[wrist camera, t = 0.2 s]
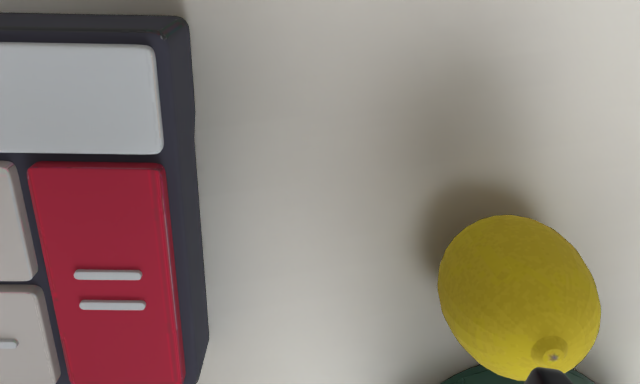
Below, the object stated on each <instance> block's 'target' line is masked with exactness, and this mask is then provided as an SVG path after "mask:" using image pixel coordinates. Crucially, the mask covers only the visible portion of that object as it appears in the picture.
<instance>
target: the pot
mask: <svg viewBox="0 0 640 384" xmlns="http://www.w3.org/2000/svg"><path fill="white" fill-rule="evenodd" d="M564 374H565V375H566V376H567V377H568V378H569V379H570V380H571V381H572V382H573V384H595V383H594V382H593V381H591V380H590V379H588V378H587V377H586V376H584V375H583V374H581V373H579V372H577V371H575V370H573V369H571V370H569V371H567V372H566V373H564ZM524 383H525V381H517V380H514V379H510V378H506V377H503V376H500V375H498V374H496V373H494V372H492V371H491V370H489V369H487V368H485V367H484V366H482V365H479V366H476V367H473V368H470V369H468V370H465V371H463V372H461V373H459V374H457V375H454V376H453V377H451V378H449V379H448V380H446V381H444V382H443V383H441V384H524Z"/></svg>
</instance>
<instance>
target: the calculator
mask: <svg viewBox="0 0 640 384" xmlns="http://www.w3.org/2000/svg"><path fill="white" fill-rule="evenodd" d="M194 129H195V102H194V88H193V74H192V60H191V46H190V34H189V27H188V24H187V22H186V21H185V20H184V19H183V18H181V17H177V16H146V15H92V14H37V13H0V384H196V383H197V382H198V380H199V376H200V372H201V368H202V365H203V361H204V357H205V353H206V349H207V345H208V341H209V329H208V316H207V302H206V289H205V276H204V263H203V250H202V236H201V223H200V210H199V197H198V183H197V170H196V157H195V144H194Z"/></svg>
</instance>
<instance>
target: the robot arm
mask: <svg viewBox="0 0 640 384" xmlns="http://www.w3.org/2000/svg"><path fill="white" fill-rule="evenodd" d="M524 384H573V382H572V381H571V380H570V379H569V378H568V377H567V376H566V375H565V374H564V373H563V372H562V371H560V370H557V369H550V368H543V367H536V368H534V369H533V370H532V371H531V372H530V374H529V376H528V377H527V379H526V381H525V383H524Z"/></svg>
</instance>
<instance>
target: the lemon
mask: <svg viewBox="0 0 640 384" xmlns="http://www.w3.org/2000/svg"><path fill="white" fill-rule="evenodd" d="M438 293H439V299H440V304H441V309H442V312H443V315H444V317H445V320H446V321H447V323H448V325H449V327H450V329H451V331H452V333H453V334H454V336H455V338H456V339H457V340H458V342H459V343H460V344H461V345H462V347H463V348H464V349H465V350H466V351H467V352H468V353H469V354H470V355H471V356H472V357H473V358H474V359H475V360H476V361H477V362H478V363H480V364H481V365H482V366H484V367H485V368H487V369H489V370H491V371H492V372H494V373H496V374H498V375H500V376H503V377H506V378H510V379H514V380H517V381H526V379H527V377H528V376H529V374H530V372H531V371H532V370H533V369H534V368H536V367H543V368H550V369H557V370H560V371H562V372H563V373H566V372H567V371H569V370H571V369H572V368H574V367H575V366H576V365H577V364H578V363H580V362H581V361H582V360H583V359H584V358H585V356H586V355H587V353H588V352H589V351H590V349H591V348H592V346H593V345H594V342H595V340H596V337H597V334H598V332H599V327H600V317H601V305H600V301H599V297H598V293H597V289H596V285H595V282H594V279H593V277H592V275H591V273H590V271H589V269H588V268H587V266H586V264H585V263H584V261H583V259H582V258H581V256H580V255H579V253H578V252H577V250H576V249H575V248H574V247H573V246H572V245H571V244H570V243H569V242H568V241H567V240H566V239H564V238H563V237H562V236H561V235H560V234H559V233H558V232H556V231H555V230H554V229H552V228H550V227H548V226H546V225H544V224H542V223H540V222H538V221H536V220H533V219H531V218H526V217H521V216H515V215H497V216H492V217H488V218H485V219H481V220H478V221H477V222H475V223H473V224H471V225H469V226H467V227H466V228H465V229H463V230H462V231H461V232H460V233H459V234H458V235H457V236H455V237H454V239H453V240H452V242H451V243H450V244H449V246H448V247H447V248H446V250H445V253H444V255H443V258H442V261H441V263H440V266H439V275H438Z"/></svg>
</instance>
